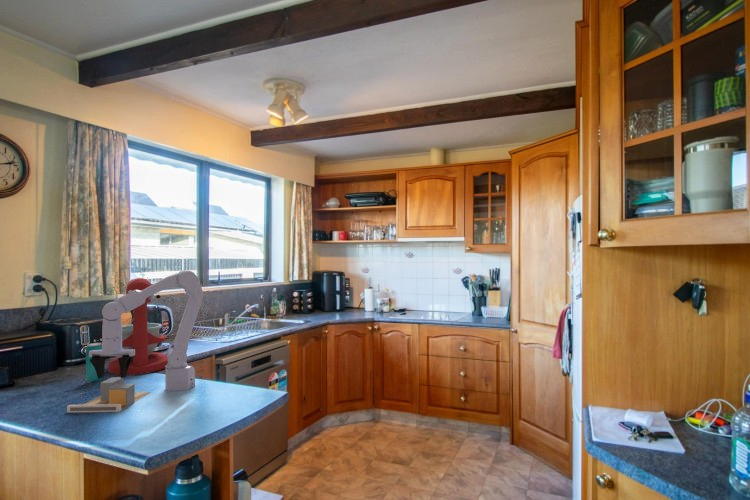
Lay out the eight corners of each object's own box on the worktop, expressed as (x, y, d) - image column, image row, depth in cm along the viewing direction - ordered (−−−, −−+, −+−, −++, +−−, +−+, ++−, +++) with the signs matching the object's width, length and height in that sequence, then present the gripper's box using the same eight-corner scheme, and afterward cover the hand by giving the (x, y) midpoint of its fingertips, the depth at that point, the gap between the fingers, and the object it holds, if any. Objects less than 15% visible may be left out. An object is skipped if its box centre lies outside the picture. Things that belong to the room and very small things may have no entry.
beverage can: (94, 384, 155) (94, 345, 156) (82, 383, 156) (82, 345, 157) (107, 380, 161) (107, 342, 161) (95, 379, 162) (95, 342, 162)
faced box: (134, 402, 132) (134, 384, 132) (126, 407, 128) (126, 388, 128) (116, 402, 132) (116, 384, 132) (107, 407, 128) (107, 388, 128)
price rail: (121, 410, 125) (121, 403, 125) (119, 411, 124) (119, 405, 124) (69, 411, 125) (69, 404, 125) (66, 412, 124) (66, 406, 124)
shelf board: (151, 395, 142) (151, 392, 142) (119, 415, 124) (119, 411, 124) (105, 396, 142) (105, 392, 142) (67, 416, 124) (67, 412, 124)
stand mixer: (165, 356, 200) (165, 276, 201) (173, 370, 174) (173, 278, 175) (108, 363, 187) (108, 277, 188) (107, 380, 161) (107, 280, 162)
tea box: (112, 400, 134) (112, 382, 134) (100, 400, 134) (100, 382, 134) (123, 394, 140) (123, 377, 140) (111, 394, 140) (111, 377, 140)
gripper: (140, 334, 141) (140, 373, 141) (98, 335, 141) (98, 374, 141) (128, 338, 134) (128, 379, 134) (84, 339, 134) (84, 380, 134)
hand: (112, 377), depth 137 cm, fingers open, 7 cm apart
